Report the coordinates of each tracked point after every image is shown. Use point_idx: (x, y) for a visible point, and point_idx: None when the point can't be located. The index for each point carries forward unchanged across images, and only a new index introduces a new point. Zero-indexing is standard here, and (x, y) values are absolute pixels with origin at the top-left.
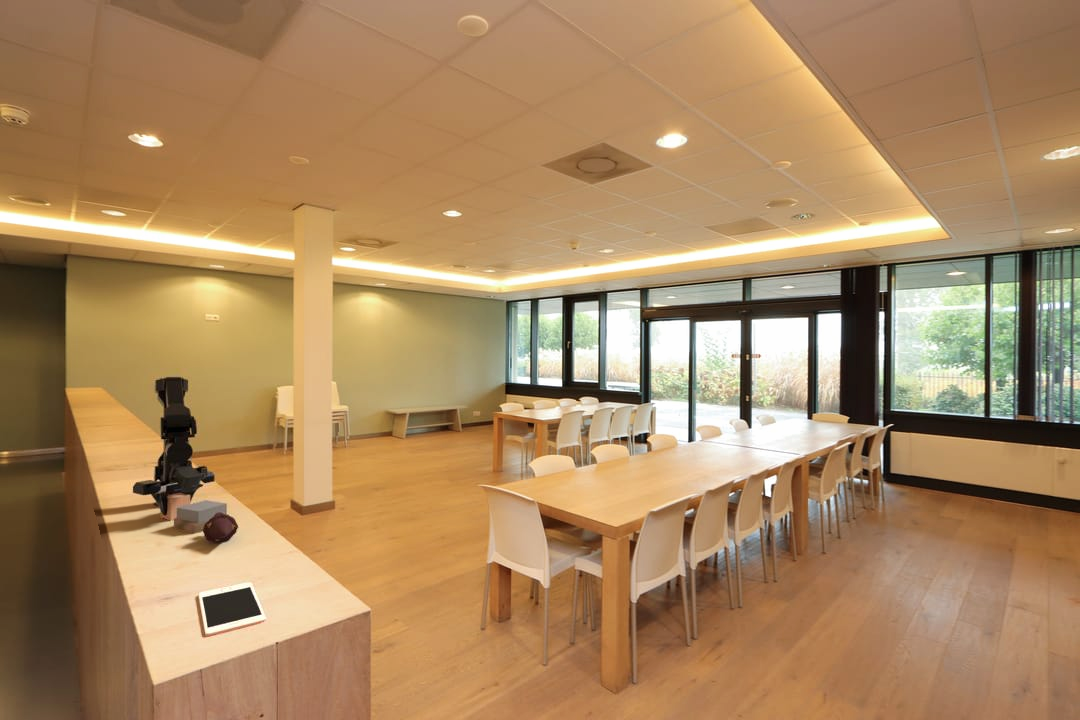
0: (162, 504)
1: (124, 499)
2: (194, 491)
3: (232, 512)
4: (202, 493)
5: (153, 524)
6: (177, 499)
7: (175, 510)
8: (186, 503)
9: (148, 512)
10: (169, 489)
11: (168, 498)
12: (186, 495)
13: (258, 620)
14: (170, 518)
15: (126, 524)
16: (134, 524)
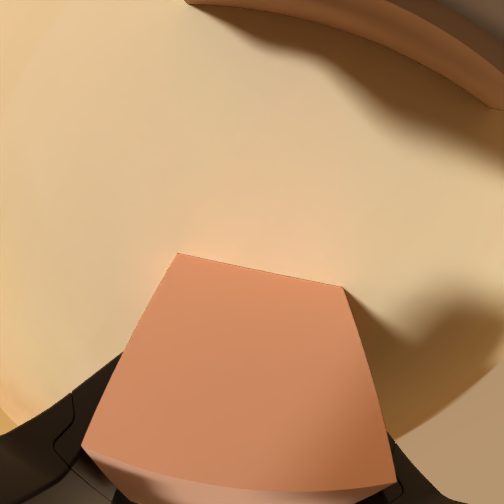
0: (396, 448)
1: None
2: (13, 443)
3: (9, 38)
4: (20, 407)
5: (425, 320)
6: (310, 464)
7: (319, 342)
8: (174, 362)
9: None
10: (115, 498)
11: (357, 500)
12: (135, 471)
13: None
14: (343, 305)
15: (409, 408)
16: (414, 389)
